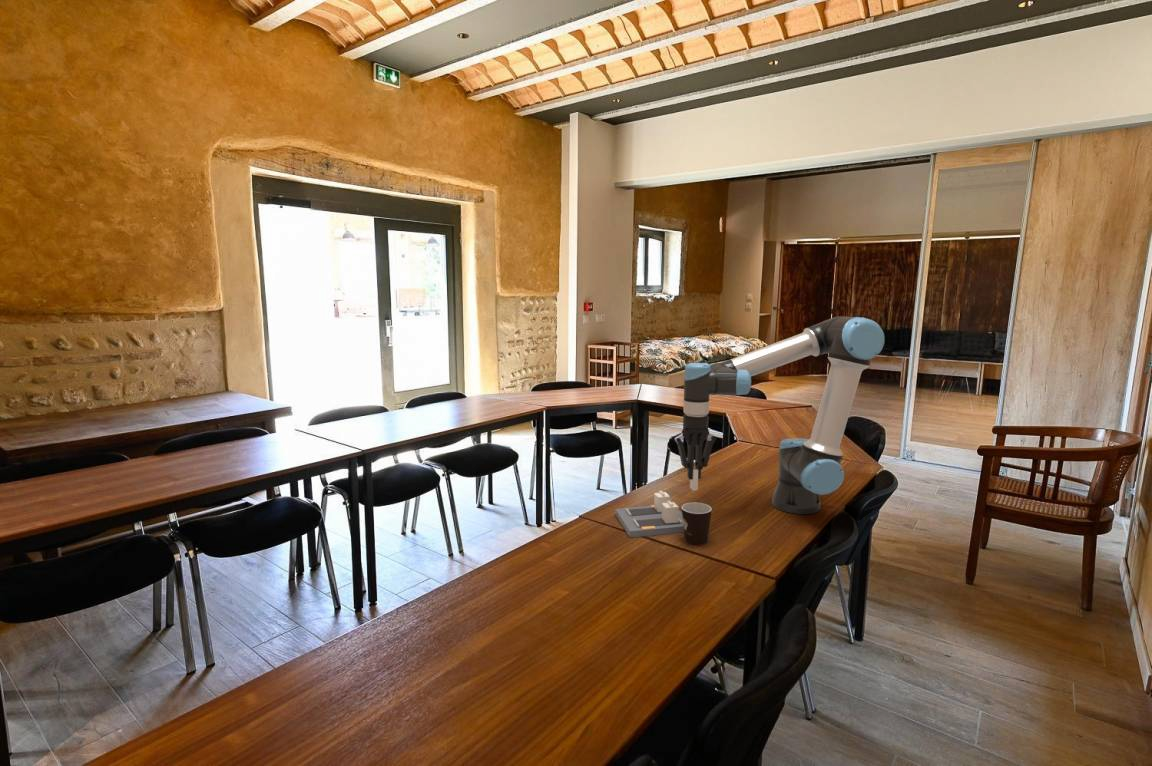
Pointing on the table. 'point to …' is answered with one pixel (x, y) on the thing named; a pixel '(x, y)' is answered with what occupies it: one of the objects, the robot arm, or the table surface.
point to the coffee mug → (696, 522)
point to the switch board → (647, 522)
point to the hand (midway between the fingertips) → (693, 488)
